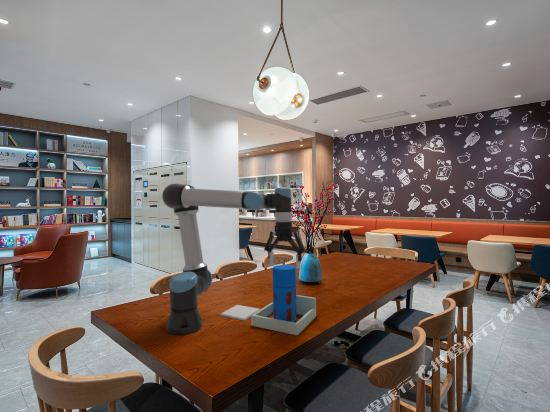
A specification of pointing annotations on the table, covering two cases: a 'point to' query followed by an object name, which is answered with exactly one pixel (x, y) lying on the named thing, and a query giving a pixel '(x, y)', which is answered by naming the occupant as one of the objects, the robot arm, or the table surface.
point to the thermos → (284, 293)
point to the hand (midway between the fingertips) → (284, 267)
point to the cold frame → (303, 307)
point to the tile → (240, 312)
